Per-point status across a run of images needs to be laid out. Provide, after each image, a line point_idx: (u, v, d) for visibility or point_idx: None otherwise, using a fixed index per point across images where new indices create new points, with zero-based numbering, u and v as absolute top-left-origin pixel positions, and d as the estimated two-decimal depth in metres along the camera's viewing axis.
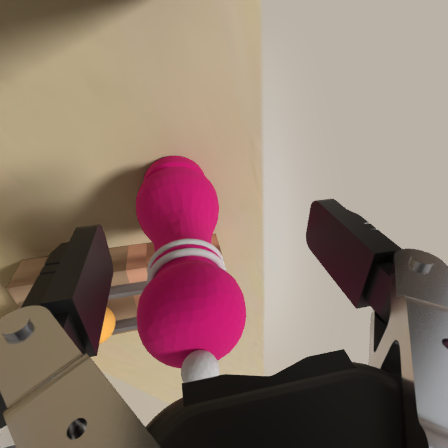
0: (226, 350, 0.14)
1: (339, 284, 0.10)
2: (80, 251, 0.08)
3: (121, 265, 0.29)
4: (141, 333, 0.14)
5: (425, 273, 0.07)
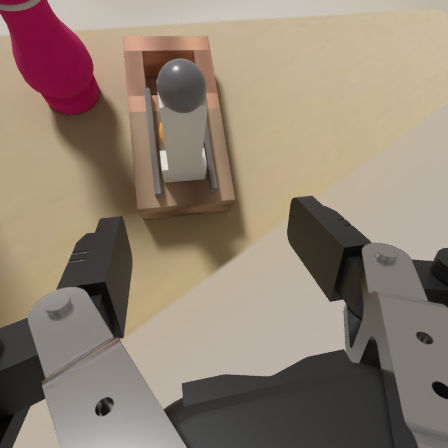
0: None
1: (316, 278, 0.10)
2: (107, 240, 0.08)
3: None
4: None
5: (389, 265, 0.07)
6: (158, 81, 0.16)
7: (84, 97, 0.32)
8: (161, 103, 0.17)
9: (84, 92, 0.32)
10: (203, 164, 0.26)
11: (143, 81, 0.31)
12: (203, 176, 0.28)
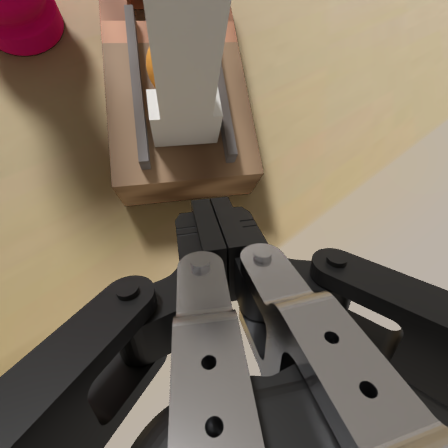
0: None
1: None
2: (208, 217, 0.10)
3: None
4: None
5: (258, 266, 0.07)
6: None
7: (38, 27, 0.22)
8: None
9: (38, 20, 0.22)
10: (218, 112, 0.16)
11: (124, 1, 0.21)
12: (215, 137, 0.18)
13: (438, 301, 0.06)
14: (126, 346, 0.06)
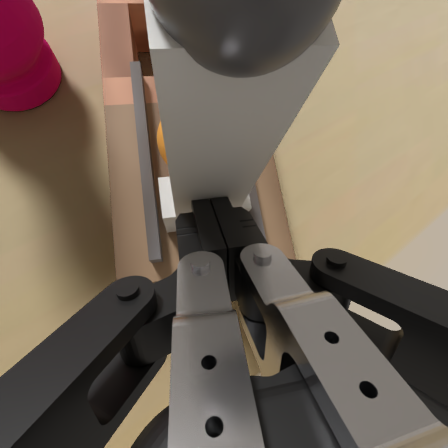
0: None
1: None
2: (208, 217, 0.10)
3: None
4: None
5: (258, 266, 0.07)
6: None
7: (31, 82, 0.19)
8: (157, 32, 0.04)
9: (32, 74, 0.19)
10: (245, 202, 0.13)
11: (130, 53, 0.18)
12: None
13: (438, 301, 0.06)
14: (126, 346, 0.06)
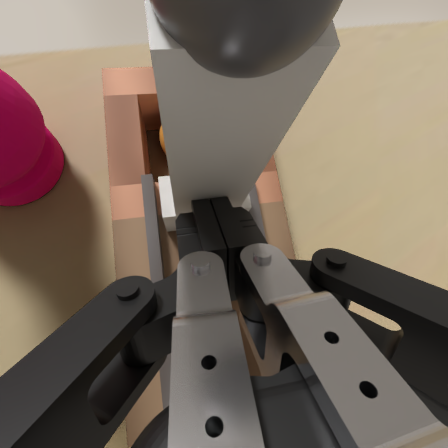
0: None
1: None
2: (208, 217, 0.10)
3: None
4: None
5: (258, 266, 0.07)
6: None
7: (31, 180, 0.17)
8: (158, 33, 0.04)
9: (32, 171, 0.17)
10: (245, 202, 0.13)
11: (140, 154, 0.16)
12: None
13: (438, 300, 0.06)
14: (126, 346, 0.06)
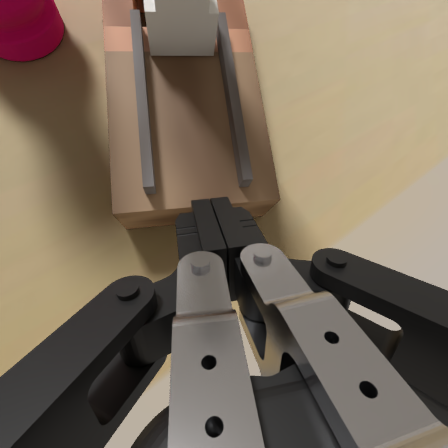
0: None
1: None
2: (208, 217, 0.10)
3: None
4: None
5: (258, 266, 0.07)
6: None
7: (35, 31, 0.20)
8: None
9: (36, 23, 0.20)
10: (214, 9, 0.16)
11: (130, 4, 0.19)
12: (211, 46, 0.18)
13: (438, 300, 0.06)
14: (126, 346, 0.06)
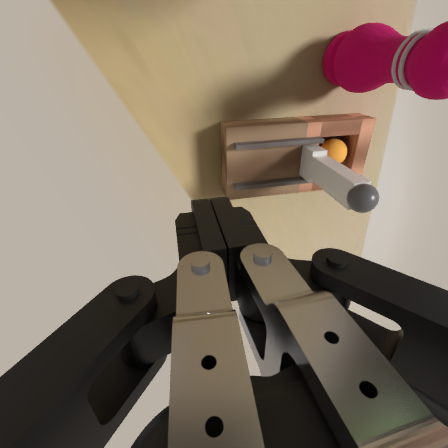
0: None
1: None
2: (208, 217, 0.10)
3: (301, 121, 0.37)
4: (436, 52, 0.22)
5: (259, 266, 0.07)
6: (368, 188, 0.27)
7: (333, 76, 0.36)
8: (356, 184, 0.28)
9: None
10: (310, 180, 0.37)
11: (332, 135, 0.38)
12: (301, 175, 0.39)
13: (438, 301, 0.06)
14: (126, 346, 0.06)
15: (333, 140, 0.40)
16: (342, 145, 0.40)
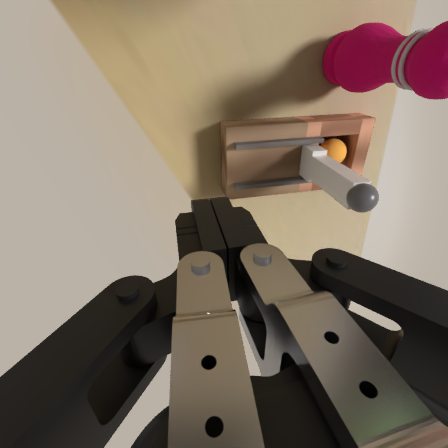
0: None
1: None
2: (208, 217, 0.10)
3: (301, 121, 0.37)
4: (436, 52, 0.22)
5: (258, 266, 0.07)
6: (368, 187, 0.27)
7: (333, 75, 0.36)
8: (356, 184, 0.28)
9: None
10: (310, 180, 0.37)
11: (332, 134, 0.38)
12: (301, 174, 0.39)
13: (438, 301, 0.06)
14: (126, 346, 0.06)
15: (332, 140, 0.40)
16: (341, 145, 0.40)
